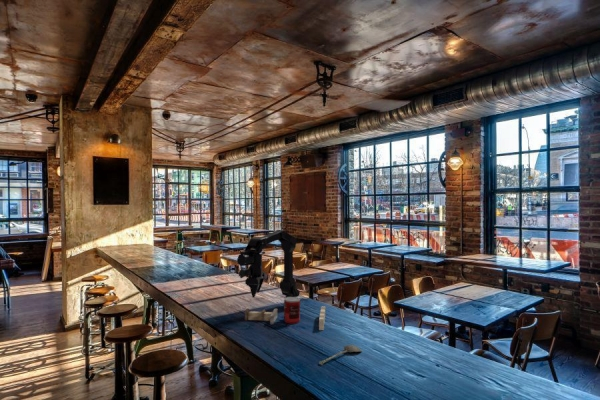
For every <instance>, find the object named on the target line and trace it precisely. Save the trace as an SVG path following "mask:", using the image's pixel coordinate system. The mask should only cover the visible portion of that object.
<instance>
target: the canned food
mask: <svg viewBox="0 0 600 400" xmlns="http://www.w3.org/2000/svg"><path fill="white" fill-rule="evenodd" d="M300 319H301V299H300V298H299V297H286V296H285V298H284V299H283V320H284V323H287V324H291V325H293V324H298V323H299V322H300Z"/></svg>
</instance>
